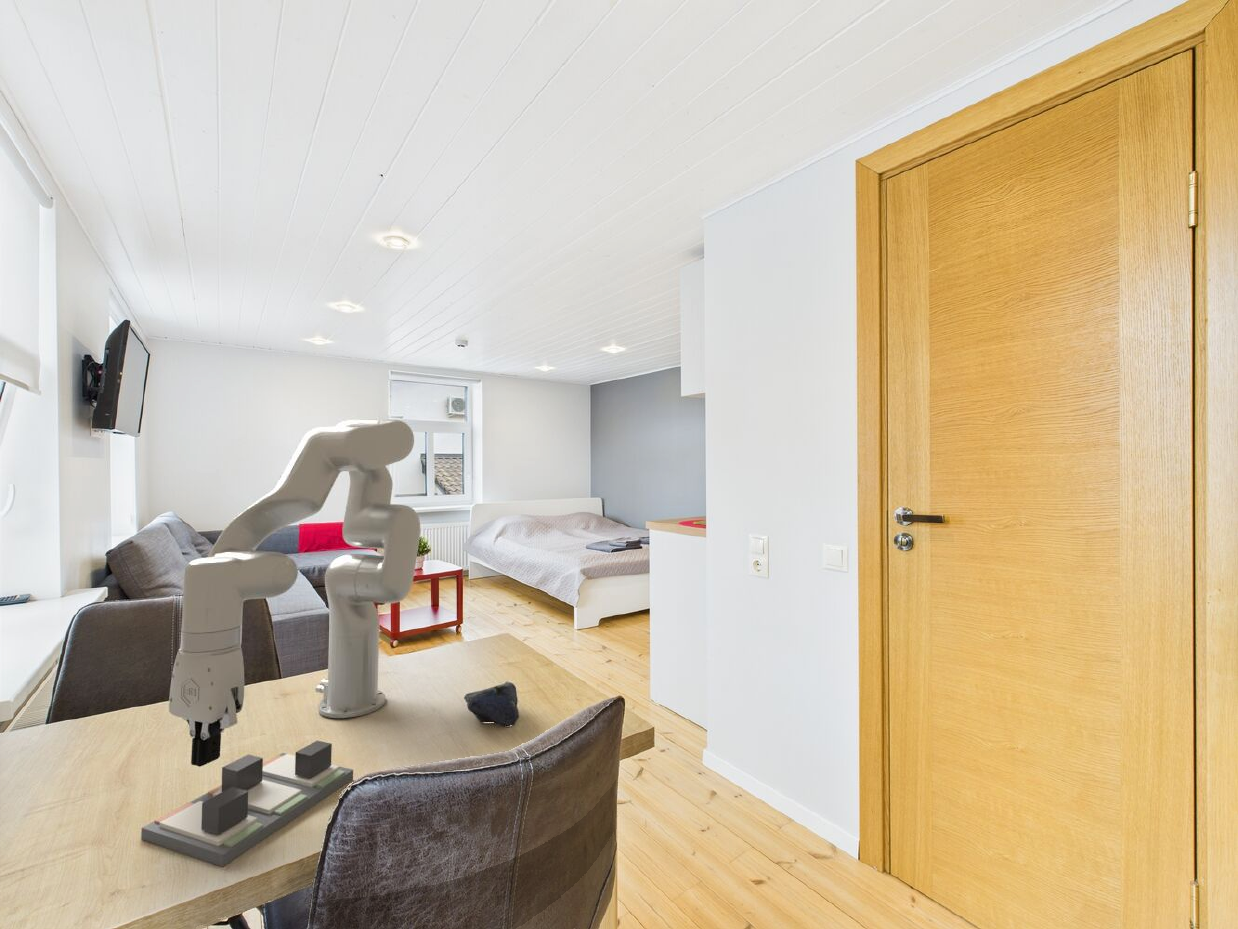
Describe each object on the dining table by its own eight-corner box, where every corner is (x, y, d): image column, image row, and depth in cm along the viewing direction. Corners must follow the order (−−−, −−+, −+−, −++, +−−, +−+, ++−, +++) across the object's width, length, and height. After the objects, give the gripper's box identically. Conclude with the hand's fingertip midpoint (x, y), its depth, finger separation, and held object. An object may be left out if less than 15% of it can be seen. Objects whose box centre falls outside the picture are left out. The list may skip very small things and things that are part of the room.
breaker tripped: (221, 791, 81) (222, 767, 81) (247, 777, 85) (248, 754, 85) (236, 795, 80) (237, 771, 80) (262, 781, 84) (262, 758, 84)
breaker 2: (295, 775, 86) (295, 752, 86) (316, 762, 89) (317, 740, 89) (309, 778, 85) (310, 755, 85) (331, 765, 88) (331, 743, 88)
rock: (478, 742, 102) (529, 721, 106) (467, 696, 104) (518, 678, 108) (468, 735, 115) (514, 717, 120) (459, 694, 117) (505, 678, 122)
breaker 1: (201, 830, 72) (202, 803, 72) (231, 812, 76) (232, 786, 76) (217, 835, 71) (218, 807, 71) (247, 817, 75) (248, 791, 75)
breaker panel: (141, 839, 74) (141, 823, 74) (282, 761, 94) (282, 749, 94) (222, 866, 69) (222, 850, 69) (353, 779, 89) (353, 766, 89)
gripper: (151, 640, 83) (144, 764, 83) (222, 652, 79) (216, 783, 78) (202, 628, 90) (196, 742, 90) (271, 638, 86) (265, 759, 85)
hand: (205, 761), depth 84 cm, fingers closed
